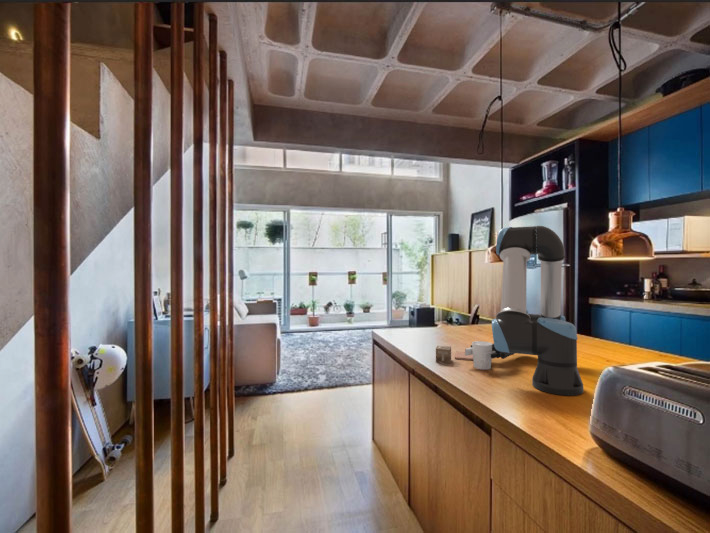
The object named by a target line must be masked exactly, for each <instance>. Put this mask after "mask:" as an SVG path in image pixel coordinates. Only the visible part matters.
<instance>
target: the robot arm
mask: <svg viewBox="0 0 710 533" xmlns="http://www.w3.org/2000/svg"><path fill="white" fill-rule="evenodd" d="M496 237H497V238H496V245H495V252H496V255H497V256H499V258H500V260H501V261H502V262H503V263H502V264H503V265H502V285H501V300H500V301H501V302H500V311H499V312H497V314H496V315H495V318H492V319H491V329H492V330H491V331H492V339H493V343H492V351H491V352H488V353H484V360H485V361H486V360H490V359H492V360H493V359H499V358H501V360H505V359H506V358H508V357H510V356H514V355H515V354H519V355H528V356H529V355H530V356H537V365H536V366H535V369H534V373H533V376H532V386H533V387H534V388H535V389H537V390H539V391H542V392H544V393H548V394H553V395H556V396H557V395H558V396H567V397H568V396H569V397H570V396H579V395H582V394H583V393H584V383H583V380H582V377H581V375H580V371H579V369H578V342H577V341H578V339H579V338H578V332H577V327H576V326H575V325H574V324H573V323H572V322H569V321H566V317H565V315H562V314H561V313H562V312H561V310H562V308H561V307H562V305H561V304H562V273H563V272H562V270H563V268H562V267H563V266H562V265H563V264H562V263H563V261H564V260H565V259H566V251H565V250H566V249H565V246H564V245H565V244H564V243H563V242H562V240H561V238H560V236H559V235H558V233H556V232H555V231H554V230H552V229H551V228H549V227H547V226H545V225H535V226H534V225H533V226H530V225H529V226H515V227H513V226H510V227H503V228H501V229H500V230H499V231H498V233H497V236H496ZM532 255H537V259H538V261H540V314H534V313H529V311H528V310H527V272H528V271H527V267H528V266H527V263H528V261H530V260H531V258H532ZM464 352H465V356H468V355H472V354H473V352H472V344H471V345H470V347H467V348H465V349H464Z"/></svg>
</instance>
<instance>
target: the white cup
mask: <svg viewBox="0 0 710 533" xmlns="http://www.w3.org/2000/svg"><path fill="white" fill-rule="evenodd" d="M492 344H493V343H492V342H489V341H484V340H476V341H472V342H471V345H472V352H473V360H472V361H473V368H475V369H477V370H481V371H483V370H491V369H492V361H493V359H490V360H486V361H485V360H484V353H488V352H491V351H492Z"/></svg>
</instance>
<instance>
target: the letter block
mask: <svg viewBox="0 0 710 533" xmlns="http://www.w3.org/2000/svg"><path fill="white" fill-rule="evenodd" d="M451 361H452V346H450V345H437V346H435V363H440V362H444V363H443V364H451Z"/></svg>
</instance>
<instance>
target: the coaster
mask: <svg viewBox="0 0 710 533" xmlns="http://www.w3.org/2000/svg"><path fill="white" fill-rule="evenodd" d="M461 359H462V360H463V361H473V354H472V355H468V356H465V351H456V353H455V357H454V360H461Z"/></svg>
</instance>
